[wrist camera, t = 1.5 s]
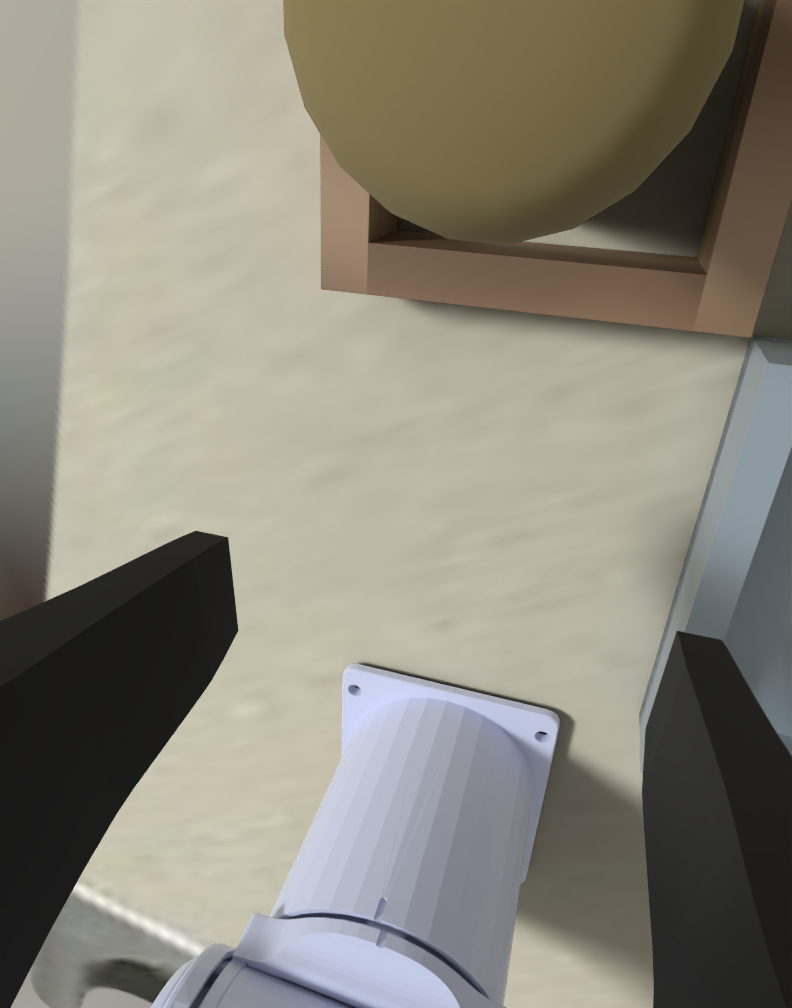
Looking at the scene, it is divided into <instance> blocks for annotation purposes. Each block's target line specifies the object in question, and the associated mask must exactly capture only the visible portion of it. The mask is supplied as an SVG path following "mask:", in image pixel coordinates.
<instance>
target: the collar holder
mask: <svg viewBox="0 0 792 1008" xmlns="http://www.w3.org/2000/svg"><path fill="white" fill-rule="evenodd" d="M320 157H321V289H324V290H333V291H341V292H350V293H359V294H368V295H377V296H386V297H395V298H403V299H412V300H421V301H430V302H439V303H448V304H457V305H465V306H474V307H483V308H492V309H501V310H510V311H519V312H527V313H536V314H545V315H554V316H563V317H572V318H581V319H589V320H598V321H607V322H616V323H625V324H634V325H643V326H651V327H660V328H669V329H678V330H687V331H696V332H705V333H713V334H722V335H731V336H740V337H749V338H751V336H752V333H753V330H754V326H755V323H756V320H757V316H758V313H759V309H760V306H761V303H762V299H763V296H764V292H765V289H766V286H767V282H768V279H769V276H770V272H771V269H772V265H773V262H774V259H775V255H776V252H777V249H778V245H779V242H780V238H781V235H782V232H783V228H784V225H785V221H786V218H787V215H788V211H789V208H790V205H791V201H792V0H760V2H759V6H758V10H757V14H756V18H755V22H754V26H753V30H752V34H751V38H750V43H749V47H748V51H747V55H746V59H745V63H744V67H743V71H742V75H741V79H740V84H739V88H738V92H737V96H736V100H735V104H734V108H733V112H732V116H731V120H730V125H729V129H728V133H727V137H726V141H725V145H724V149H723V153H722V157H721V161H720V166H719V170H718V174H717V178H716V182H715V186H714V190H713V194H712V198H711V202H710V206H709V211H708V215H707V219H706V223H705V227H704V231H703V235H702V239H701V243H700V247H699V252H698V256H697V257H687V256H676V255H665V254H654V253H643V252H632V251H621V250H610V249H599V248H588V247H577V246H565V245H554V244H543V243H532V242H518V243H513V244H499V243H487V242H475V241H463V240H452V239H447V238H445V237H443V236H440V235H438V234H432V233H421V232H410V231H399V230H398V216H396V215H394V214H392V213H391V212H389V211H388V210H387V209H385V208H384V207H383V206H382V205H381V204H380V203H379V202H378V201H377V200H376V199H375V198H374V197H372V196H371V195H370V194H369V193H368V192H367V191H366V190H365V189H364V188H363V187H362V186H361V185H359V184H358V183H357V182H356V181H355V180H354V179H353V178H352V177H351V176H350V175H349V174H348V173H346V172H345V171H344V170H343V169H342V168H341V167H340V166H339V164H338V163H337V161H336V159H335V158H334V156H333V154H332V153H331V151H330V149H329V147H328V146H327V144H326V142H325V141H324V139H323V137H322V136H321V134H320Z"/></svg>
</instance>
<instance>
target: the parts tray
mask: <svg viewBox="0 0 792 1008" xmlns="http://www.w3.org/2000/svg"><path fill="white" fill-rule="evenodd" d="M676 631H681V632H686V633H691V634H696V635H701V636H705V637H710V638H715V639H720V640H722V641H723V642H724V644H725V645H726V647H727V648H728V650H729V652H730V653H731V655H732V657H733V659H734V661H735V662H736V664H737V666H738V668H739V669H740V671H741V673H742V675H743V677H744V678H745V680H746V682H747V684H748V685H749V687H750V689H751V690H752V692H753V694H754V696H755V697H756V699H757V701H758V702H759V704H760V706H761V707H762V709H763V711H764V712H765V714H766V716H767V717H768V719H769V721H770V722H771V724H772V726H773V727H774V729H775V731H776V732H777V734H778V735H779V737H780V738H781V740H782V742H783V743H784V745H785V746H786V748H787V749H788V751H789V752H790V754H791V755H792V340H791V339H782V338H773V337H764V336H755V335H752V336H751V339H750V342H749V346H748V349H747V352H746V356H745V359H744V363H743V366H742V369H741V373H740V376H739V379H738V383H737V386H736V390H735V393H734V396H733V400H732V403H731V407H730V410H729V413H728V417H727V420H726V423H725V427H724V430H723V434H722V437H721V440H720V444H719V447H718V451H717V454H716V457H715V461H714V464H713V467H712V471H711V474H710V478H709V481H708V484H707V488H706V491H705V495H704V498H703V501H702V505H701V508H700V511H699V515H698V518H697V522H696V525H695V528H694V532H693V535H692V539H691V542H690V545H689V549H688V552H687V555H686V559H685V562H684V566H683V569H682V572H681V576H680V579H679V583H678V586H677V589H676V593H675V596H674V599H673V603H672V606H671V610H670V613H669V616H668V620H667V623H666V627H665V630H664V633H663V637H662V640H661V643H660V647H659V650H658V654H657V657H656V660H655V664H654V667H653V671H652V674H651V677H650V681H649V684H648V687H647V691H646V694H645V698H644V701H643V704H642V708H641V711H640V715H639V717H640V763H641V772H643V763H644V746H645V729H646V725H647V722H648V719H649V716H650V713H651V710H652V707H653V703H654V700H655V697H656V694H657V691H658V688H659V685H660V682H661V678H662V675H663V672H664V669H665V666H666V663H667V660H668V657H669V653H670V650H671V647H672V644H673V641H674V638H675V635H676Z"/></svg>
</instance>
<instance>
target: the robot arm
mask: <svg viewBox="0 0 792 1008" xmlns="http://www.w3.org/2000/svg"><path fill="white" fill-rule="evenodd" d="M237 632H238V624H237V615H236V605H235V596H234V587H233V578H232V569H231V560H230V551H229V542H228V537H223V536H218V535H214V534H209V533H204V532H199V531H194V532H192V533H189V534H187V535H185V536H182V537H180V538H178V539H176V540H173V541H171V542H169V543H167V544H165V545H163V546H161V547H159V548H157V549H155V550H153V551H151V552H149V553H146V554H144V555H142V556H140V557H138V558H136V559H134V560H132V561H130V562H128V563H126V564H124V565H122V566H120V567H118V568H116V569H114V570H112V571H110V572H108V573H106V574H104V575H102V576H100V577H98V578H95V579H93V580H91V581H89V582H87V583H85V584H83V585H81V586H79V587H77V588H75V589H72V590H70V591H68V592H66V593H63V594H61V595H59V596H57V597H54V598H52V599H50V600H48V601H45V602H43V603H41V604H39V605H37V606H34V607H32V608H30V609H27V610H25V611H23V612H21V613H18V614H16V615H14V616H11V617H9V618H7V619H4V620H2V621H0V1008H11V1005H12V1003H13V1001H14V999H15V998H16V996H17V993H18V992H19V990H20V988H21V986H22V984H23V982H24V980H25V978H26V976H27V974H28V972H29V970H30V968H31V967H32V965H33V963H34V961H35V959H36V957H37V955H38V953H39V951H40V949H41V947H42V945H43V943H44V941H45V939H46V937H47V935H48V934H49V932H50V930H51V928H52V926H53V924H54V923H55V921H56V919H57V917H58V915H59V913H60V912H61V910H62V908H63V906H64V904H65V903H66V901H67V899H68V897H69V895H70V894H71V892H72V890H73V888H74V886H75V884H76V883H77V881H78V879H79V877H80V875H81V874H82V872H83V870H84V868H85V867H86V865H87V863H88V862H89V860H90V858H91V856H92V855H93V853H94V851H95V850H96V848H97V846H98V844H99V843H100V841H101V839H102V838H103V836H104V834H105V833H106V831H107V829H108V827H109V826H110V824H111V822H112V821H113V819H114V817H115V816H116V814H117V812H118V811H119V809H120V808H121V806H122V805H123V803H124V802H125V800H126V799H127V798H128V796H129V795H130V793H131V792H132V790H133V789H134V787H135V786H136V784H137V783H138V782H139V780H140V779H141V778H142V776H143V775H144V773H145V772H146V771H147V769H148V768H149V767H150V765H151V764H152V763H153V761H154V760H155V758H156V757H157V756H158V754H159V753H160V752H161V750H162V749H163V747H164V746H165V745H166V743H167V742H168V741H169V739H170V738H171V736H172V735H173V734H174V732H175V731H176V730H177V728H178V727H179V725H180V724H181V723H182V721H183V720H184V719H185V717H186V716H187V714H188V713H189V712H190V710H191V709H192V707H193V706H194V705H195V703H196V702H197V700H198V699H199V698H200V696H201V695H202V693H203V692H204V691H205V689H206V688H207V686H208V685H209V683H210V682H211V681H212V679H213V677H214V675H215V673H216V672H217V670H218V668H219V666H220V664H221V663H222V661H223V659H224V657H225V655H226V653H227V651H228V649H229V647H230V645H231V644H232V642H233V640H234V638H235V636H236V634H237ZM353 685H356V686H358V687H359V688H360V689H358V688H356V687H354V686H353ZM559 725H560V719H559V717H558V716H557V714H555V713H554V712H553V711H550V710H548V709H544V708H540V707H536V706H532V705H527V704H523V703H519V702H515V701H511V700H506V699H502V698H498V697H494V696H490V695H486V694H481V693H477V692H473V691H469V690H465V689H461V688H456V687H452V686H448V685H444V684H440V683H436V682H431V681H427V680H423V679H419V678H415V677H411V676H406V675H402V674H398V673H394V672H390V671H385V670H381V669H377V668H373V667H369V666H365V665H360V664H350V665H348V666H347V667H346V669H345V671H344V673H343V688H342V758H341V761H340V763H339V765H338V767H337V769H336V772H335V774H334V776H333V778H332V780H331V782H330V785H329V787H328V789H327V791H326V793H325V796H324V798H323V800H322V802H321V804H320V807H319V809H318V811H317V813H316V815H315V817H314V820H313V822H312V824H311V826H310V828H309V831H308V833H307V835H306V837H305V839H304V842H303V844H302V846H301V848H300V850H299V853H298V855H297V857H296V859H295V861H294V863H293V866H292V868H291V870H290V872H289V874H288V877H287V879H286V881H285V883H284V885H283V888H282V890H281V892H280V894H279V896H278V898H277V901H276V903H275V905H274V907H273V909H272V912H271V914H270V916H269V917H268V916H265V915H262V914H259V913H254V914H253V915H252V917H251V919H250V921H249V923H248V925H247V927H246V929H245V931H244V933H243V936H242V938H241V940H240V942H239V944H238V946H237V948H236V949H235V948H232V947H230V946H227V945H225V944H214V945H212V946H210V947H208V948H206V949H205V950H204V951H203V952H202V953H201V954H200V955H198V956H197V957H195V958H193V959H191V960H190V961H188V962H187V963H185V964H184V965H183V966H182V967H180V968H179V969H178V970H177V971H176V973H175V974H174V975H173V976H172V977H171V979H170V980H169V981H168V982H167V984H166V985H165V986H164V988H163V989H162V991H161V992H160V994H159V995H158V997H157V998H156V1000H155V1001H154V1003H153V1005H152V1006H151V1008H506V1007H504V1006H503V1004H504V997H505V990H506V983H507V976H508V969H509V962H510V955H511V948H512V941H513V934H514V927H515V920H516V913H517V905H518V898H519V891H520V884H521V883H523V882H524V881H525V880H526V876H527V871H528V867H529V862H530V858H531V853H532V849H533V844H534V840H535V835H536V831H537V826H538V822H539V817H540V813H541V808H542V804H543V799H544V795H545V790H546V786H547V781H548V777H549V772H550V768H551V763H552V759H553V754H554V750H555V745H556V741H557V736H558V732H559ZM539 731H542V732H545V733H547V734H541V733H539ZM642 799H643V816H644V831H645V846H646V860H647V875H648V889H649V903H650V917H651V931H652V945H653V974H654V1003H653V1008H792V755H791V754H790V752H789V751H788V749H787V748H786V746H785V745H784V743H783V742H782V740H781V738H780V737H779V735H778V734H777V732H776V731H775V729H774V727H773V726H772V724H771V722H770V721H769V719H768V717H767V716H766V714H765V712H764V711H763V709H762V707H761V706H760V704H759V702H758V701H757V699H756V697H755V696H754V694H753V692H752V690H751V689H750V687H749V685H748V684H747V682H746V680H745V678H744V677H743V675H742V673H741V671H740V669H739V668H738V666H737V664H736V662H735V661H734V659H733V657H732V655H731V653H730V652H729V650H728V648H727V647H726V645H725V644H724V642H723V641H722V640H720V639H715V638H710V637H705V636H701V635H696V634H691V633H686V632H681V631H676V635H675V638H674V641H673V644H672V647H671V650H670V653H669V657H668V660H667V663H666V666H665V669H664V672H663V675H662V678H661V682H660V685H659V688H658V691H657V694H656V697H655V700H654V703H653V707H652V710H651V713H650V716H649V719H648V722H647V725H646V729H645V746H644V763H643V785H642Z"/></svg>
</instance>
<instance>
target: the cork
mask: <svg viewBox="0 0 792 1008" xmlns="http://www.w3.org/2000/svg"><path fill="white" fill-rule="evenodd" d="M283 4H284V35H285V38H286V42H287V45H288V49H289V53H290V56H291V60H292V63H293V67H294V71H295V74H296V78H297V81H298V85H299V89H300V92H301V96H302V99H303V103H304V107H305V109H306V110H307V112H308V114H309V115H310V117H311V119H312V120H313V122H314V124H315V125H316V127H317V129H318V131H319V132H320V134H321V136H322V137H323V139H324V141H325V142H326V144H327V146H328V147H329V149H330V151H331V153H332V154H333V156H334V158H335V159H336V161H337V163H338V164H339V166H340V167H341V168H342V169H343V170H344V171H345V172H346V173H348V174H349V175H350V176H351V177H352V178H353V179H354V180H355V181H356V182H357V183H358V184H359V185H361V186H362V187H363V188H364V189H365V190H366V191H367V192H368V193H369V194H370V195H371V196H372V197H374V198H375V199H376V200H377V201H378V202H379V203H380V204H381V205H382V206H383V207H384V208H385V209H387V210H388V211H389V212H391V213H392V214H394V215H396V216H398V217H400V218H403V219H405V220H407V221H409V222H411V223H414V224H416V225H418V226H420V227H423V228H425V229H427V230H429V231H431V232H434V233H436V234H438V235H440V236H443V237H445V238H447V239H452V240H463V241H475V242H487V243H499V244H513V243H518V242H522V241H526V240H530V239H534V238H538V237H542V236H546V235H550V234H554V233H558V232H562V231H566V230H570V229H573V228H575V227H577V226H578V225H580V224H582V223H583V222H585V221H587V220H588V219H590V218H591V217H593V216H595V215H596V214H598V213H600V212H601V211H603V210H605V209H606V208H608V207H609V206H611V205H613V204H614V203H616V202H618V201H619V200H621V199H623V198H624V197H626V196H627V195H629V194H631V193H632V192H634V191H636V189H637V188H638V187H639V186H640V185H641V184H642V183H643V182H644V181H645V180H646V179H647V178H648V176H649V175H650V174H651V173H652V172H653V171H654V170H655V169H656V168H657V167H658V166H659V164H660V163H661V162H662V161H663V160H664V159H665V158H666V157H667V156H668V155H669V154H670V153H671V151H672V150H673V149H674V148H675V147H676V146H677V145H678V144H679V143H680V142H681V141H682V139H683V138H684V137H685V136H686V135H687V134H688V133H689V132H690V131H691V129H692V127H693V125H694V123H695V121H696V120H697V118H698V116H699V114H700V112H701V110H702V108H703V106H704V104H705V102H706V101H707V99H708V97H709V95H710V93H711V91H712V89H713V87H714V85H715V83H716V82H717V80H718V78H719V76H720V74H721V72H722V70H723V68H724V66H725V64H726V63H727V61H728V59H729V57H730V55H731V53H732V51H733V48H734V43H735V39H736V35H737V30H738V26H739V22H740V17H741V13H742V9H743V4H744V0H283Z"/></svg>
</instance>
